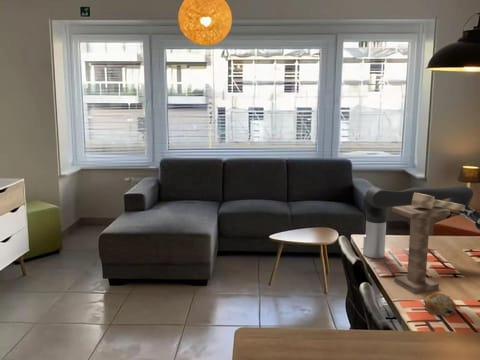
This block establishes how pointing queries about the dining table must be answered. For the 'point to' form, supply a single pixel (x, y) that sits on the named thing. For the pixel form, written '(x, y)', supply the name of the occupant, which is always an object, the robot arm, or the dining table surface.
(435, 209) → the stand
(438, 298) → the bread roll
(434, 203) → the mallet
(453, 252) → the dining table surface
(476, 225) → the robot arm
